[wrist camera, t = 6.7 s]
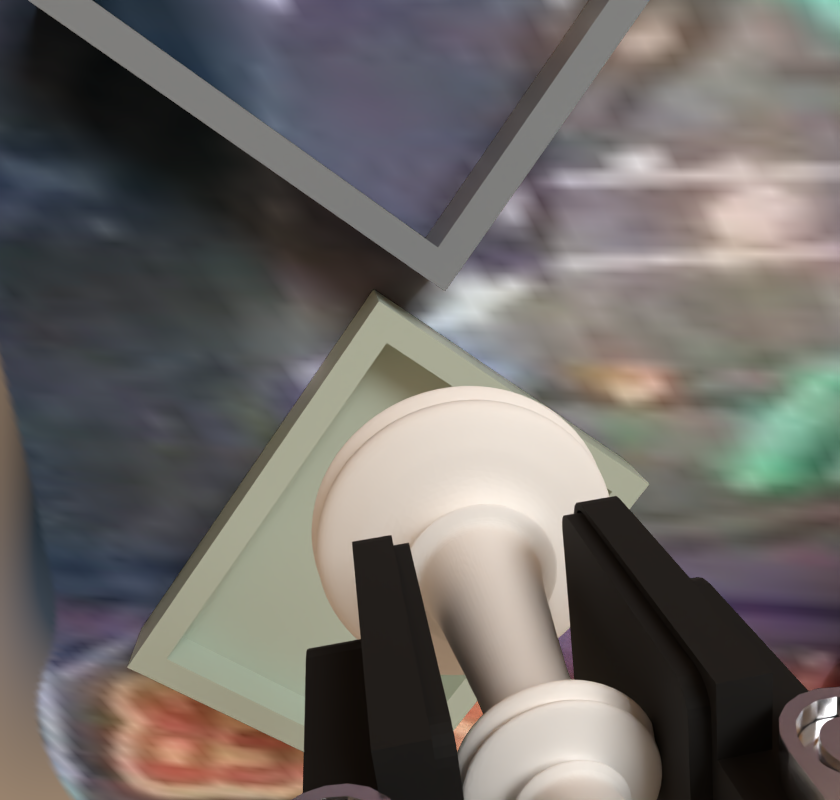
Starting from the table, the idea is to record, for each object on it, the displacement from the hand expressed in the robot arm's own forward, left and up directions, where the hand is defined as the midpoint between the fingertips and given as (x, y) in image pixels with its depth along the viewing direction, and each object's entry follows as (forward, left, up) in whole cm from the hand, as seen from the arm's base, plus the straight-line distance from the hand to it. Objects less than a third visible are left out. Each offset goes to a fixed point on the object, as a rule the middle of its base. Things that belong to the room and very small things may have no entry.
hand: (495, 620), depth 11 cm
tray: (-5, +7, -19) cm, 21 cm away
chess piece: (0, 0, -3) cm, 3 cm away
